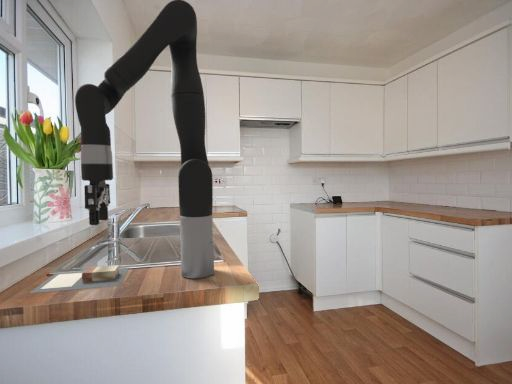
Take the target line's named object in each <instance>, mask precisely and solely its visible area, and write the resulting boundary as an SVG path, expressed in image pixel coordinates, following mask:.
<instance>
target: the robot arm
mask: <svg viewBox="0 0 512 384" xmlns="http://www.w3.org/2000/svg"><path fill="white" fill-rule="evenodd" d="M197 19H198V18H197V14H196V11H195V9H194V7H193V6H192V4H190V3H189V2H187V1H186V0H171V1H169V2H168V3H166V4H165V6H164V7H163V8H162V10H161V11H160V12H159V13H158V15H157V16H156V17H155V18H154V20H153V21H152V23H151V24H150V25H149V26H148V27H147V29H146V30H145V31H144V32H143V33H142V34H141V36H140V37H139V38H138V39H137V40H136V41H135V42H134V43H133V44H132V45H131V46H130V48H128V49H127V50H126V51H125V52H124V53H123V54H122V55H121V56H120V57H118V58H117V59H116V60H115V61H114V62H113V63H112V64H111V65H110V66H108V67H107V69H105V71H104V72H103V79H102V80H101V82H100V83H99V85H95V84H93V83H85V84H82V85H80V86H79V87H78V88H77V89H76V92H75V96H74V103H75V104H74V105H75V110H76V115H77V119H78V124H79V125H80V147H81V148H80V170H81V171H80V172H81V180H82V181H84V182H85V181H89V184H84V208H85V210H87V211H88V220H89V221H88V222H89V226H98V225H99V224H100V221H107V220H108V219H109V206H110V204H111V191H110V186H111V185H110V183H106V181H112V180H113V179H114V170H113V169H114V168H113V167H114V165H113V152H112V147H111V145H112V143H111V141H112V140H111V139H112V138H111V129H110V127H109V126H108V124H107V123H108V122H107V118H106V117H107V116H106V115H107V114H109V113H111V112H112V111H113V110H114V109H115V108H116V107H117V105H119V102H120V101H121V100H122V99H123V97H124V95H125V94H126V93H127V92H128V91H129V90H130V89H132V88H133V87H134V86H135V85H136V84H137V83H138V82H140V81H141V79H143V77H144V76H145V75H146V74H147V73H148V72H149V70H150V69H151V67H152V66H153V64H154V63H155V61H156V60H157V59H158V57H159V55H161V53H162V52H163V51H164V50H165V49H166V48H167V47H168V50H169V56H170V60H171V61H170V63H171V70H170V71H171V73H170V99H171V108H172V109H171V110H172V115H173V119H174V120H173V121H174V125H175V130H176V133H177V137H178V141H179V147H180V149H179V150H180V168H179V170H178V177H177V178H178V182H177V183H178V204H179V205H178V206H179V222H180V223H179V228H180V229H179V232H180V269H181V271H180V272H181V273H180V274H181V276H182V277H184V278H187V279H203V278H206V277H210V276H214V275H215V243H214V232H213V231H214V230H213V227H214V225H213V223H214V221H213V205H214V201H213V200H214V198H213V195H214V193H213V189H214V188H213V184H214V183H213V172H212V168H211V167H210V165H209V161H208V155H207V150H206V104H205V93H204V88H203V83H202V79H201V75H200V72H199V68H198V67H199V66H198V60H197V37H198V22H197Z"/></svg>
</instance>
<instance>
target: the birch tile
mask: <svg viewBox="0 0 512 384" xmlns="http://www.w3.org/2000/svg"><path fill="white" fill-rule="evenodd" d="M119 268H120V265H116V264H115V265H107V266H106V265H105V266H104V265H102V266H90V267H89V266H88V267H87V268H86V269H85V270H83V271H84V272H83V273H82V282H90V281H102V280H115V279H116V277H117V276H118V274H119Z"/></svg>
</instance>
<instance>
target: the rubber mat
mask: <svg viewBox="0 0 512 384" xmlns="http://www.w3.org/2000/svg"><path fill="white" fill-rule="evenodd" d="M129 270H130V267H121V268H120V267H119V274H118V276H117V277H116V279H115V280H102V281H90V282H82V273H83V272H84V271H85V270H81V271H79V270H78V271H64V272H63V271H62V272H55V273H54V274H53V275H52V276H50V277H49V278H47V279H46V280H45V281H43V282H42V283H41V284H39V285H37V287H36V288H34V289H33V290H31V291H30V292H29V294H37V293H38V294H39V293H47V292H48V293H51V292H62V291H72V290H73V291H74V290H84V289H85V290H86V289H96V288H107V287H109V288H110V287H118V286H120V284H121V283H122V281H123V280H124V278H125V277H126V275H127V273H128V272H129Z"/></svg>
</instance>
